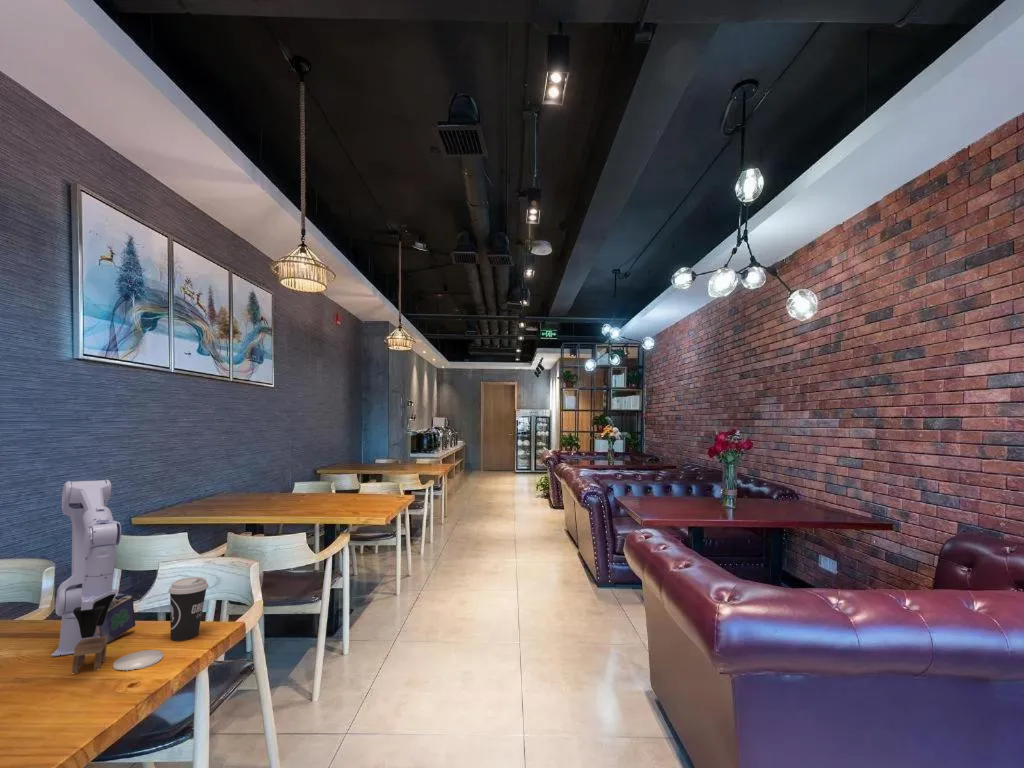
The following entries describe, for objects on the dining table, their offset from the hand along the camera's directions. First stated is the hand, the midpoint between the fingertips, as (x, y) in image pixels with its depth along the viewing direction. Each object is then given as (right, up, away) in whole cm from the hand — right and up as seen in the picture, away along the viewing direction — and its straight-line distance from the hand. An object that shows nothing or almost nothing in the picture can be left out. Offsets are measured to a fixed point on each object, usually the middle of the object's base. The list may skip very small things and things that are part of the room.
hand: (92, 631), depth 119 cm
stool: (0, -8, -1) cm, 8 cm away
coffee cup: (+10, -11, +18) cm, 23 cm away
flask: (-7, -9, +16) cm, 20 cm away
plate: (+9, -9, +3) cm, 13 cm away
